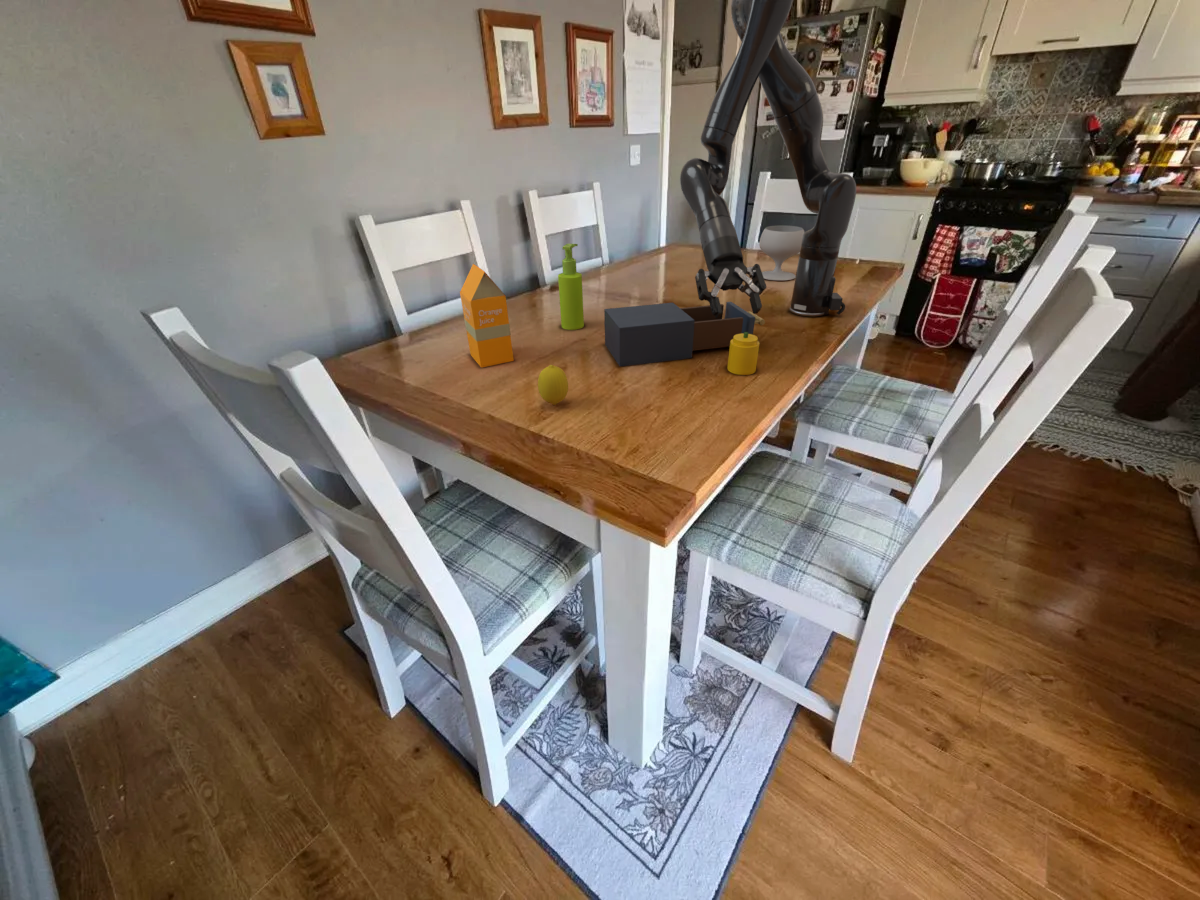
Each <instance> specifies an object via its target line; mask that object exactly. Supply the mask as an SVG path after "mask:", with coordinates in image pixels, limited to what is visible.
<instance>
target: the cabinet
mask: <svg viewBox="0 0 1200 900" xmlns="http://www.w3.org/2000/svg"><path fill="white" fill-rule="evenodd" d="M680 308H681V307H679V306H678V305H677V304H675V303H674V302H664V303H655V304H644V305H642V304H641V305H633V306H621V307H612V308H611V307H610V308H604V310H603V311H604V312H603V313H604V314H603V315H604V317H603V318H604V319H603V320H604V346H605V347H606V348H607V350H608V352H609V353H610V355H611V356H612V358H613V359H614V361H615V362H616V364H617V365H618V366H619V367H629V366H635V365H644V364H653V363H662V362H669V361H671V362H672V361H680V360H689V359H692V358H693V351H692V349H693V336H694V323H695V320H694V319H693V318H691V317H690V316H689V315H688V314H686V313H685V312H684V311H683V310H681V309H680Z"/></svg>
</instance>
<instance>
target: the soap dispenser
mask: <svg viewBox="0 0 1200 900" xmlns="http://www.w3.org/2000/svg"><path fill="white" fill-rule="evenodd" d="M575 247H578V243H566V244H563V246H562V250H564V256H565V257H564V258H563V259H562V260H561V263H562V265H561V266H562V272H561V273H559V274H557V282H558V295H559V308H560V309H559V311H560V324H561V325H560V327H561V328H562V329H563V330H569V331H576V330H580V329H583V328H584V326H585V320H584V319H585V317H584V295H583V292H584V291H583V274H582V272H577V259H576V258H574V257H573V248H575Z"/></svg>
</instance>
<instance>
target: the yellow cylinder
mask: <svg viewBox="0 0 1200 900" xmlns="http://www.w3.org/2000/svg"><path fill="white" fill-rule="evenodd" d="M760 344H761V343H760V341H759V338H758V336H757V335H755V334H753V335H752V334H748V332H744V334H736V335H734V337H733V339H732V340H731V341H730V346H729V349H728V350H729V351H728V357H727V366H726V368H727V371H728V372H730V373H731V374H734V375H738V376H748V375H752V374H753V375H754V374H755V373H756V370H757V366H758V365H757V364H758V356H759V350H760Z"/></svg>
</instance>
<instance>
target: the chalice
mask: <svg viewBox="0 0 1200 900" xmlns="http://www.w3.org/2000/svg"><path fill="white" fill-rule="evenodd" d="M804 233H805V230H804V228H803V227H801V226H797V225H769V226H766V227H765V228H764V229H763V231H762V233H761V235H760V238H759V244H758V245H759V249H760V250H761V252H763V253H764V254H765V255H767V256H768V257H769V258H771V259H772V260H773V261H774V263H775V265H774V266H775V267H774V268H773V270H765V271H761V272H762V275H763V277H764V280H769V281H790V280H795V278H796V273H793V272H789V271H785V270H782V266H783V263H784V262H785V261H787V260H788V259H790V258H791V257H794V256H796V255H798V254H800V249H801V244H802V238H803V234H804Z"/></svg>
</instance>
